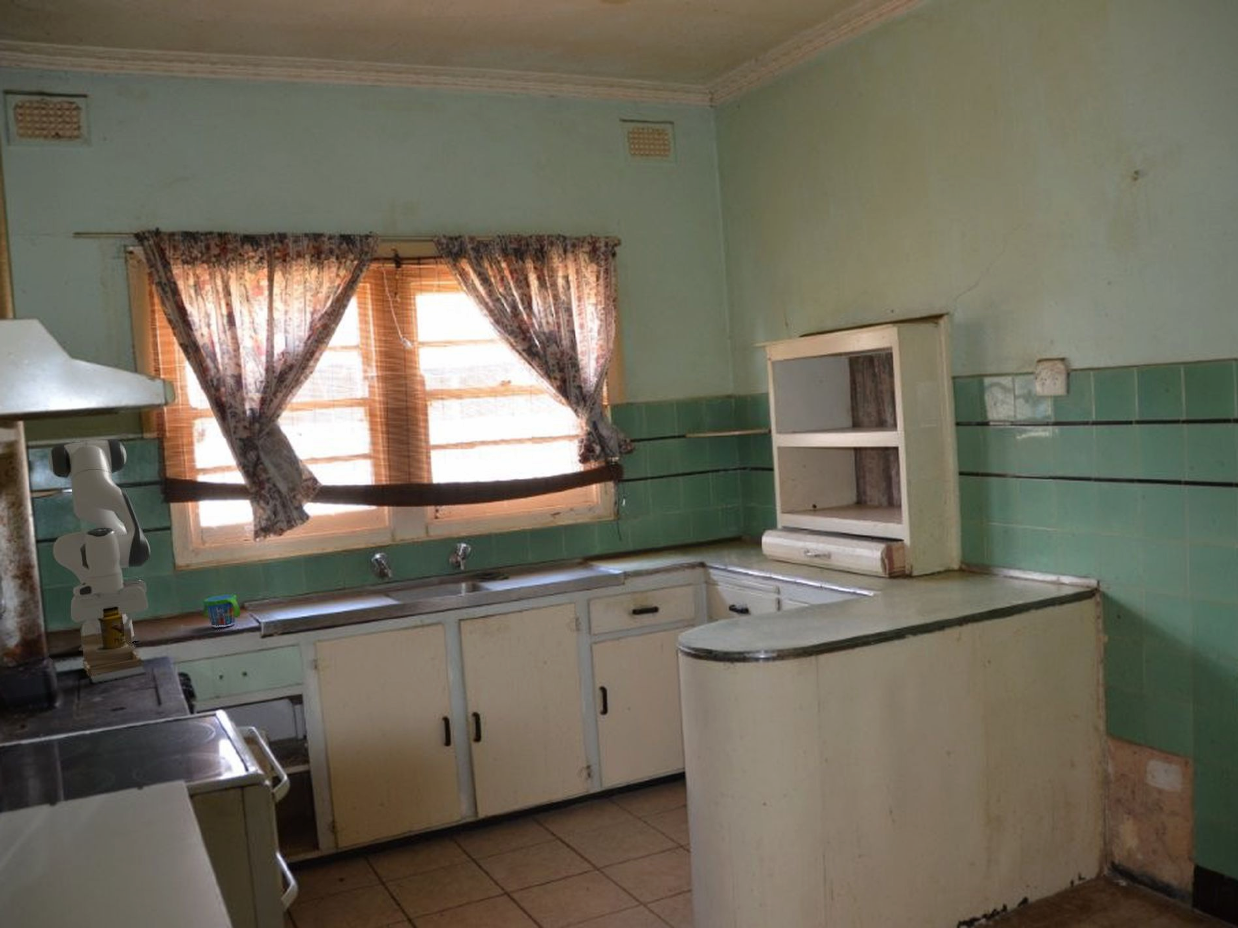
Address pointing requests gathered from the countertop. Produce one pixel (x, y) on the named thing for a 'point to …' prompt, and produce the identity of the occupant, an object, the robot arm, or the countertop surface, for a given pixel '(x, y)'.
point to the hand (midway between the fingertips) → (112, 631)
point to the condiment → (112, 630)
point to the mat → (118, 674)
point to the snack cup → (221, 609)
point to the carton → (108, 655)
